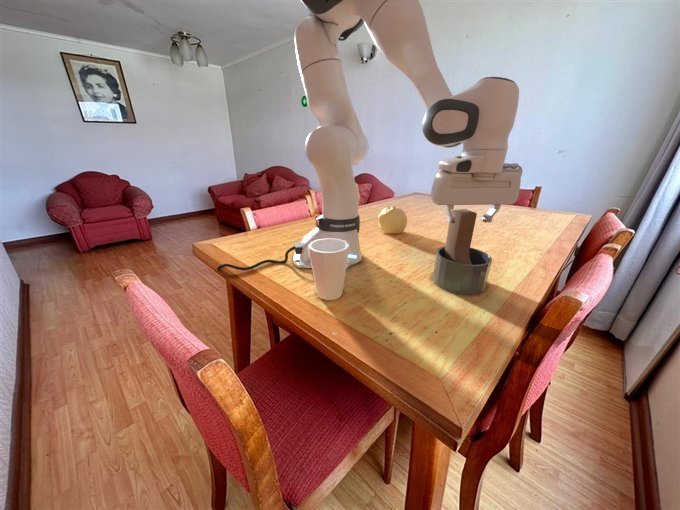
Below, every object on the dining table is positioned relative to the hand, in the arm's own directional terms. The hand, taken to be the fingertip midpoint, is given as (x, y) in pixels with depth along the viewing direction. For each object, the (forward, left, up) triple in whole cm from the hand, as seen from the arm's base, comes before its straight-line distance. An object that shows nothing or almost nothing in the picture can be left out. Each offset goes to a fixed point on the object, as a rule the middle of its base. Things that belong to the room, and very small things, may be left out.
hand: (468, 222), depth 65 cm
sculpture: (-6, +44, -17) cm, 47 cm away
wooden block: (0, 0, -16) cm, 16 cm away
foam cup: (-35, -2, -17) cm, 39 cm away
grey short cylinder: (0, +2, -17) cm, 17 cm away
